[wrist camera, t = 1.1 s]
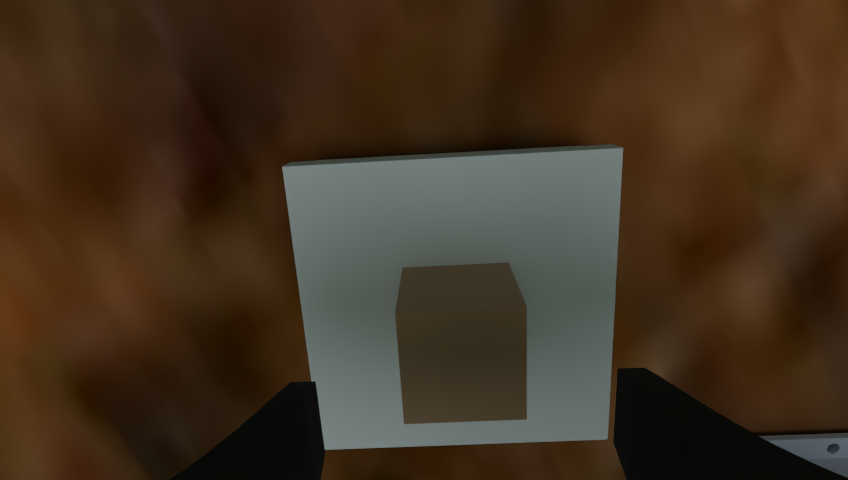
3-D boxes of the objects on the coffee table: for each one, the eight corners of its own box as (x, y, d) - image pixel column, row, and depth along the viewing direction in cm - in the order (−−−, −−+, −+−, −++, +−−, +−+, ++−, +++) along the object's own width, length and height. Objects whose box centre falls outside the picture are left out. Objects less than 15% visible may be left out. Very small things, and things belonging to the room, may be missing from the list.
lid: (612, 144, 17) (673, 164, 13) (599, 422, 20) (645, 515, 16) (290, 162, 17) (242, 188, 13) (326, 432, 20) (297, 526, 16)
